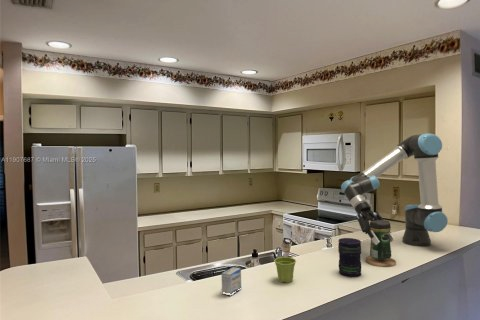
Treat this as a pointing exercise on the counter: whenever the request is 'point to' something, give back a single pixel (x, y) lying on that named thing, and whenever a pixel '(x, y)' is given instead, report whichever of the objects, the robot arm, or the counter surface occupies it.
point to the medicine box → (231, 280)
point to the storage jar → (349, 257)
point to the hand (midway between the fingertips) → (385, 242)
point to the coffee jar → (381, 239)
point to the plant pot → (285, 268)
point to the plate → (380, 262)
